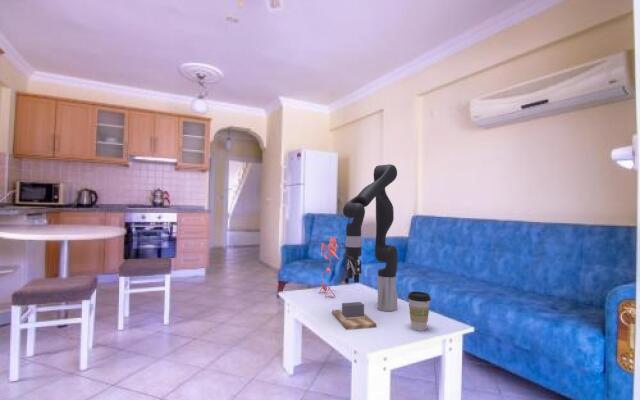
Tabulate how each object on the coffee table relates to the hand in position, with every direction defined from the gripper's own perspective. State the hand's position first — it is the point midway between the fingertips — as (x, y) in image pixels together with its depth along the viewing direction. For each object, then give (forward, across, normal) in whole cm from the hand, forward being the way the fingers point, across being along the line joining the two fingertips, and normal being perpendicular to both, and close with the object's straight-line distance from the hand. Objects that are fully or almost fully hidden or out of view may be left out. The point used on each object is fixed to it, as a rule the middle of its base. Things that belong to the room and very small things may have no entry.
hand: (353, 280), depth 154 cm
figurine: (+19, +45, -3) cm, 49 cm away
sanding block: (+17, 0, 0) cm, 17 cm away
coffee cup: (+19, -15, -25) cm, 35 cm away
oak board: (+19, +1, 0) cm, 19 cm away
